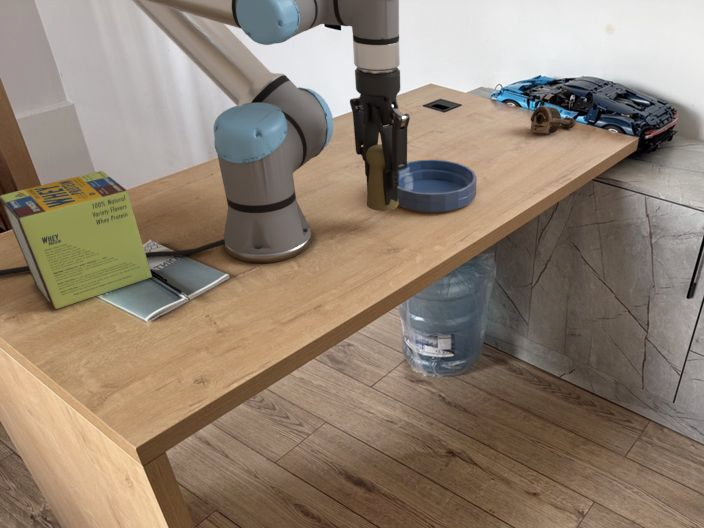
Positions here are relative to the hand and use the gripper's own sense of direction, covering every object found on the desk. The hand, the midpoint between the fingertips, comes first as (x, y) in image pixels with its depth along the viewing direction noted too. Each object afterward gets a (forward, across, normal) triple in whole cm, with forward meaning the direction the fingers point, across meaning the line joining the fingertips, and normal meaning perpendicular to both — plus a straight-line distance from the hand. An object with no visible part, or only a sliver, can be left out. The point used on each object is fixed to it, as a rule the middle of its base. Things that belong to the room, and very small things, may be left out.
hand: (382, 198), depth 126 cm
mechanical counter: (+6, +12, -67) cm, 68 cm away
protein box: (+6, +17, +48) cm, 51 cm away
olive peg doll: (+1, 0, 0) cm, 1 cm away
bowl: (+6, +4, -16) cm, 18 cm away
